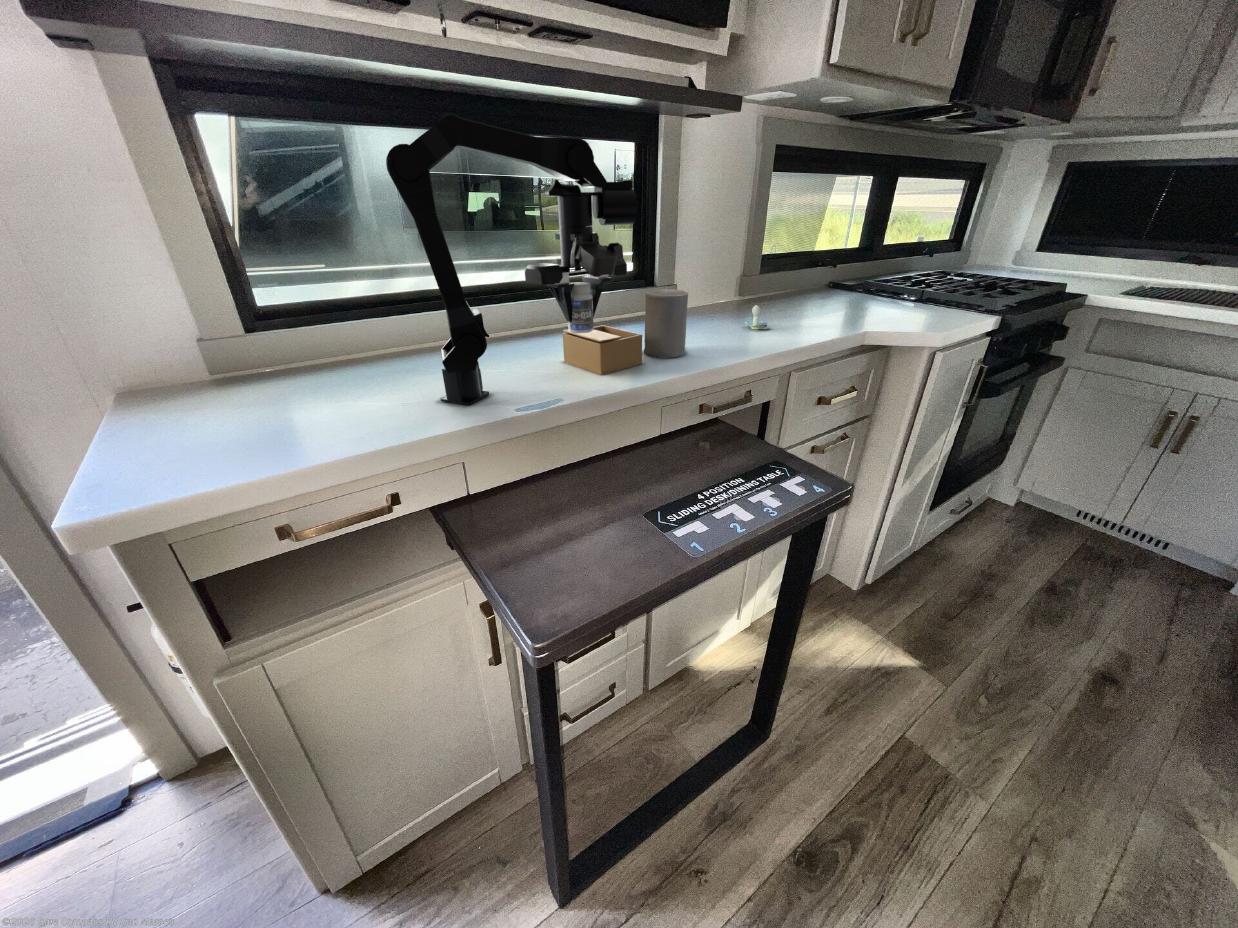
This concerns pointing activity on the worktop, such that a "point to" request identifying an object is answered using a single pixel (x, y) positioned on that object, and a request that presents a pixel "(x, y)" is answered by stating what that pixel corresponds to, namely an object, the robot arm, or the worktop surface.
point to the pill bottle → (581, 308)
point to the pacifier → (756, 320)
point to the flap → (596, 335)
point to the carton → (603, 351)
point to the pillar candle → (665, 322)
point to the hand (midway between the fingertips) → (580, 319)
